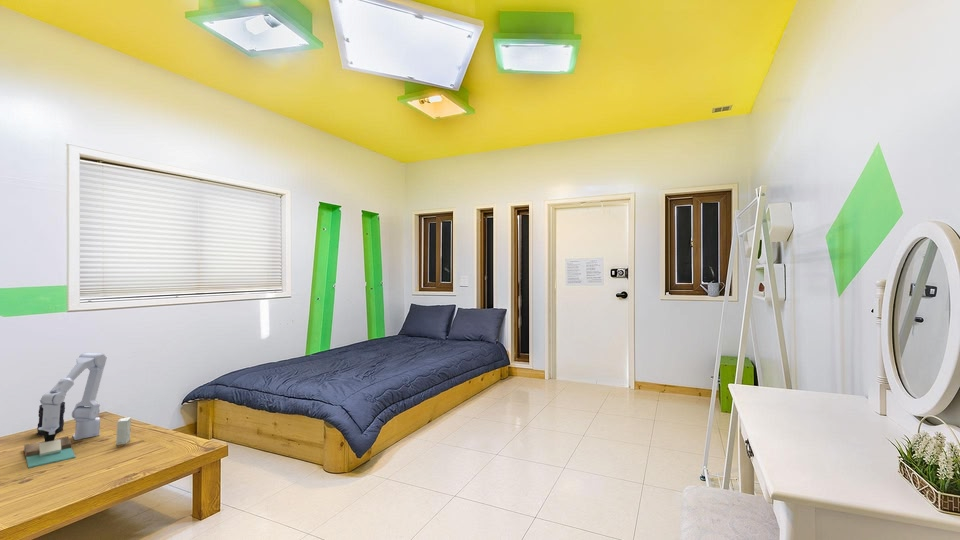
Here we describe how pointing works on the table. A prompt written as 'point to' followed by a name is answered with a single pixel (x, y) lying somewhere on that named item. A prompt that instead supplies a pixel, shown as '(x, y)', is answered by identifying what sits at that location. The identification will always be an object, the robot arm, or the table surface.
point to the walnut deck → (34, 447)
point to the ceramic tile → (49, 447)
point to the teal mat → (50, 458)
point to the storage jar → (61, 421)
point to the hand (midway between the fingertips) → (49, 445)
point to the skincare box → (123, 431)
